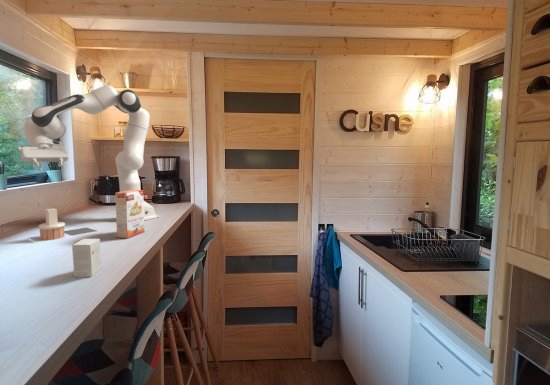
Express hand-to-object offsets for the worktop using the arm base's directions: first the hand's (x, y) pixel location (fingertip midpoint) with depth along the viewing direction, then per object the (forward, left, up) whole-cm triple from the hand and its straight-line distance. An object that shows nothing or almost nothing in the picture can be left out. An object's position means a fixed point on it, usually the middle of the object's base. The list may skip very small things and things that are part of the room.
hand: (50, 166), depth 174 cm
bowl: (+8, +19, -31) cm, 37 cm away
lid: (+8, +19, -26) cm, 33 cm away
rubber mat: (-5, +15, -31) cm, 35 cm away
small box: (+19, +76, -32) cm, 85 cm away
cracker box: (-18, +39, -32) cm, 54 cm away
